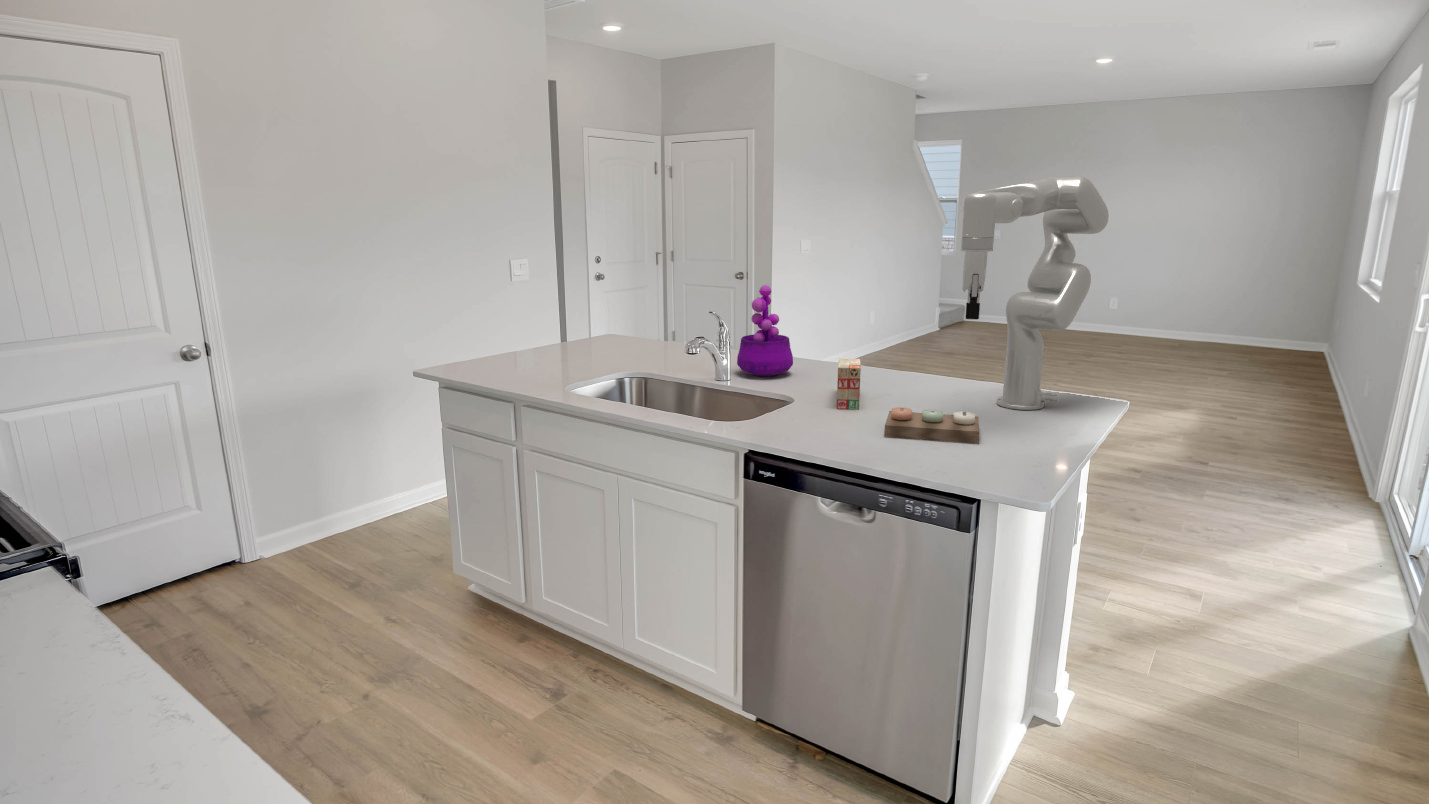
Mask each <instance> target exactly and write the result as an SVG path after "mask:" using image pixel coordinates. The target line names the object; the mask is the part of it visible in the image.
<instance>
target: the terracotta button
mask: <svg viewBox="0 0 1429 804" xmlns="http://www.w3.org/2000/svg"><path fill="white" fill-rule="evenodd" d="M891 411H892V414H891V418H893V419H896V420H910V419H912V412H913V410H912V409H911V408H908V407H902V406H901V407H900V406H899V407H893V408H891Z"/></svg>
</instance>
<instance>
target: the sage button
mask: <svg viewBox="0 0 1429 804" xmlns="http://www.w3.org/2000/svg"><path fill="white" fill-rule="evenodd" d="M921 413H922V420H923V421H926V422H942V421H943V414H944V411H943V410H939V409H931V408H930V409H929V408H928V409H924V410H922V411H921Z"/></svg>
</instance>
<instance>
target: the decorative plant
mask: <svg viewBox="0 0 1429 804" xmlns="http://www.w3.org/2000/svg"><path fill="white" fill-rule="evenodd" d="M758 292H759V295H761V297H756V298H754V299H753V300H752V302H751V308H752V310H753V311H754V312H756V313H753V314H752V315H751V321H752V323H753V324H754V325H757V327H758V328H759V330H757V331H756V332H755V333H754V334H748V335H744V336H742V337H741V338H740V345H739V349H738V354H737V360H736V365H737V366H738V367H739V369H740V370H741V371H743V372H745V373H747V374H750V375H753V376H759V377H760V376H761V377H770V376H771V377H772V376H778V375H780V374H783V373H786V372H788V371H789V370H790V369H791V368H792V367H793V365H794V355H793V352H792V349H791V343H790V338H789V336H787V335H783V334H780V330H779V328H778V327H776V325H778V324H779V321H780V316H779V315H778V314H776V313H770V314H769V305H770V304H771V303H772V299H771V297H770V295H771V294H772V290H771V287H770V285H767V284H764V285H762V286H760V288H759V290H758Z"/></svg>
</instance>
